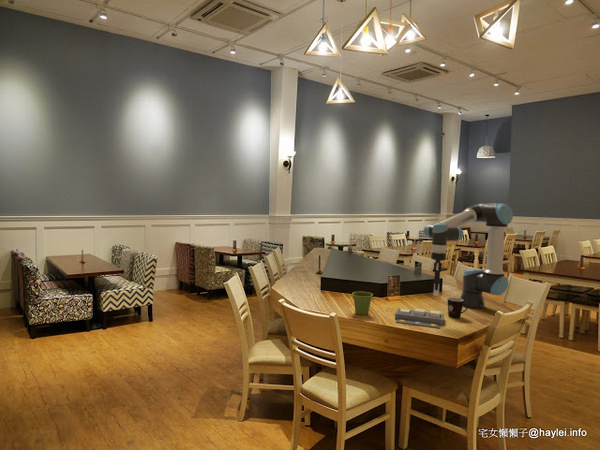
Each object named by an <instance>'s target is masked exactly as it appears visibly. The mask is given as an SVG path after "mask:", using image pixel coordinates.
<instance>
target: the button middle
mask: <svg viewBox="0 0 600 450" xmlns="http://www.w3.org/2000/svg"><path fill="white" fill-rule="evenodd" d="M414 310H415V315H421V316H424V315H425V312H426V309H422V308H415V309H414Z"/></svg>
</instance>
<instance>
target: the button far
mask: <svg viewBox="0 0 600 450" xmlns="http://www.w3.org/2000/svg"><path fill="white" fill-rule="evenodd" d="M400 309H401V310H400V313H406V314H410V310H411V309H408V310H407V309H405V308H400Z"/></svg>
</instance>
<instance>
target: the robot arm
mask: <svg viewBox="0 0 600 450" xmlns="http://www.w3.org/2000/svg"><path fill="white" fill-rule="evenodd" d="M513 215H514V214H513V210H512V208H511V207H510V206H509V204H505V203H500V202H499V203H495V202H494V203H493V202H481V203H477V204H474V205H470V206H468V207H466V208H465V209H464V210H463V211H462V212H459V213H457V214H454V215H453V216H450V217H449V218H445V219H444V220H442V221H439V222H437V223H434V224H426V225H425V226H424V229H423V234H424V236H425V237H427V238H430V239H431V241H432V242H431V245H430V248H431V251H432V252H431V254H430V258H431V260H433V261H435V262H434V263H433V267H434V268H433V269H434V270H433V272H434V279H433V282H432V284H433V293H432V296H434V297H439V295H440V284H441V279H440V277H441V271H442V267H443V263H442V262H441V261H446V259H447V254H446V253H447V246H448V242H457V241H461V240H462V239H463V237H464V230H463V228H461V227H464V226H466V225H468V224H474V223H478V222H479V223H485V227H486V228H487V229H488V233H487V248H486V249H487V250H486V264H485V265H486V266H485V269H481V268H470V269H468V268H467V269H465V270H464V271H463V275H462V277H463V278H462V293H461V294H460V297H459V298H460V299H463V300H464V301H463V304H465V305H466V306H467V309H473V310H474V309H475V310H476V309H478V310H480V309H484V308H485V305H486V304H485V303H486V302H485V301H484V296H483V293H485V294H491V295H493V296H502V295H503V294H505V292H506V291H507V289H508V287H509V280H508V277H506V276H505V272H504V271H503V260H504V259H503V257H504V256H503V255H504V240H505V230H506V229H507V228H508V226H509V224H511V223H512V220H513V217H514V216H513ZM465 305H463V306H462V308H466V306H465Z"/></svg>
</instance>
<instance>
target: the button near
mask: <svg viewBox="0 0 600 450" xmlns="http://www.w3.org/2000/svg"><path fill="white" fill-rule="evenodd" d="M429 312H430V317H437V318H440V314H441V311H438V310H430V311H429Z"/></svg>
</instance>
